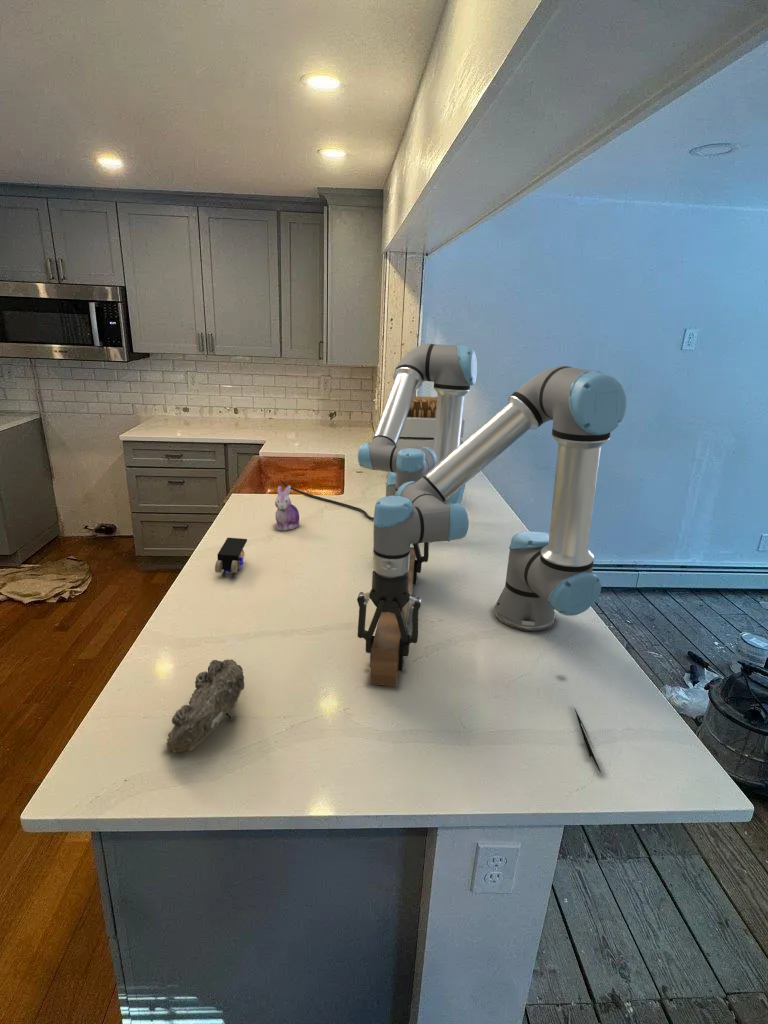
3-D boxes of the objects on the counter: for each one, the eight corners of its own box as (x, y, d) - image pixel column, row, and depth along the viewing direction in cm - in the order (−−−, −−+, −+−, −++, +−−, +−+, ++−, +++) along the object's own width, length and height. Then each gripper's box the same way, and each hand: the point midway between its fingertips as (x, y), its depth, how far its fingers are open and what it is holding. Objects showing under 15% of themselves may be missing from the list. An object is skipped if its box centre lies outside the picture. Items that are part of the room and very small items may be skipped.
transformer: (382, 463, 289) (386, 382, 275) (445, 464, 293) (451, 384, 279) (390, 482, 257) (394, 392, 243) (460, 483, 261) (468, 394, 247)
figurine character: (238, 584, 162) (249, 557, 175) (236, 562, 158) (247, 536, 172) (215, 584, 161) (227, 556, 175) (212, 561, 158) (225, 535, 171)
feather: (561, 682, 125) (567, 675, 124) (600, 777, 98) (608, 769, 98) (555, 678, 125) (561, 671, 124) (592, 772, 98) (600, 765, 98)
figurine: (278, 533, 195) (277, 491, 190) (270, 523, 204) (269, 483, 199) (304, 529, 199) (304, 488, 194) (295, 519, 208) (294, 480, 203)
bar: (396, 572, 170) (398, 546, 167) (415, 574, 169) (416, 547, 166) (370, 683, 119) (371, 648, 116) (395, 686, 119) (397, 651, 116)
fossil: (192, 660, 117) (244, 628, 112) (224, 691, 120) (276, 661, 115) (142, 746, 98) (202, 712, 93) (182, 779, 101) (242, 748, 96)
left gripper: (372, 507, 153) (370, 584, 161) (441, 513, 151) (435, 590, 159) (376, 498, 160) (374, 572, 168) (442, 503, 158) (436, 578, 166)
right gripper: (342, 574, 114) (341, 671, 122) (434, 583, 112) (427, 681, 120) (349, 559, 121) (348, 652, 129) (436, 566, 119) (429, 660, 127)
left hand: (404, 581), depth 163 cm, fingers closed on bar, 5 cm apart
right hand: (386, 665), depth 125 cm, fingers closed on bar, 5 cm apart
